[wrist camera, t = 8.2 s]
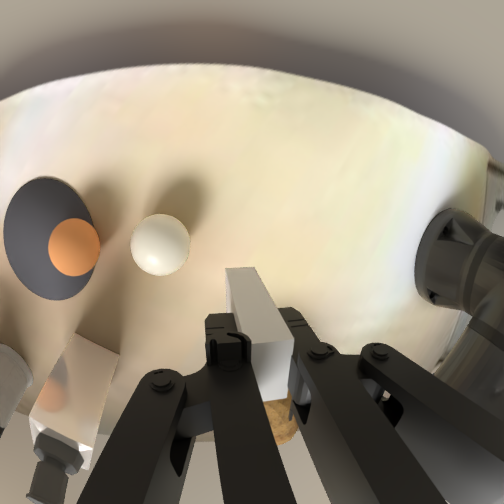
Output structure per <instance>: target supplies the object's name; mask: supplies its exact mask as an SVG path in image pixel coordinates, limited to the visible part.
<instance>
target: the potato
mask: <svg viewBox="0 0 504 504" xmlns="http://www.w3.org/2000/svg"><path fill="white" fill-rule="evenodd" d="M291 399H292V396H291V393H290V391H289V389H288V392H287V398H284V399H277V400H271V401H263V403H264V407H265V410H266V413H267V416H268V419H269V423H270V426H271V429H272V432H273V435H274V438H275V441H276V444H277V445H280V444H284V443H286V442H287V441H289V440H291V439H292V437H293V436H294V434H295V433H296V431H297V429H298V424H297V422H296V419H295V417H294V414H293V417H292V421H289V417H288V416H289V410H290V404H291Z"/></svg>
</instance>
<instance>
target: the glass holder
mask: <svg viewBox="0 0 504 504" xmlns="http://www.w3.org/2000/svg"><path fill="white" fill-rule="evenodd" d="M32 383H33V375H32V372H31V370H30V368H29V367H28V365H27V364H26V362H25V361H24V360H23V358H22V357H21V356H20V355H19V354H18V353H17V352H16V351H14V350H13V349H12V348H10V347H9V346H7V345H5V344H0V438H1V435H2V433H3V431H4V429H5V428H6V427H7V425H8V423H9V421H10V419H11V417H12V415H13V413H14V411H15V409H16V407H17V405H18V403H19V401H20V399H21V398H22V396H23V394H24V392H25V390H26V389H27V387H29V386H31V385H32Z"/></svg>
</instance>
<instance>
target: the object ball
mask: <svg viewBox="0 0 504 504" xmlns="http://www.w3.org/2000/svg"><path fill="white" fill-rule="evenodd" d="M48 251H49V256H50V259H51V261H52V263H53V265H54V266H55V267H56V268H57V269H58V270H59V271H60V272H61V273H63V274H65V275H69V276H79V275H83V274H85V273H87V272H88V271H90V270H91V269H92V268H93V266H94V265H95V264H96V262H97V260H98V257H99V253H100V241H99V237H98V234H97V232H96V231H95V229H94V228H93V227H92V226H91V225H90V224H89V223H88V222H86V221H84V220H82V219H77V218H72V219H67V220H65V221H63V222H61V223H60V224H58V225H57V226H56V227H55V229H54V230H53V232H52V234H51V236H50V239H49V244H48Z"/></svg>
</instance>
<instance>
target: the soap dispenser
mask: <svg viewBox="0 0 504 504" xmlns="http://www.w3.org/2000/svg"><path fill="white" fill-rule="evenodd" d="M119 356H120V355H119V354H117V353H114V352H112V351H110V350H108V349H106V348H104V347H102V346H99V345H97V344H95V343H93V342H91V341H89V340H87V339H85V338H84V337H82V336H80V335H78V334H76V333H74V334H73V336H72V338H71V339H70V341H69V342H68V344H67V346H66V347H65V349H64V351H63V352H62V354H61V356H60V358H59V359H58V361H57V363H56V364H55V366H54V368H53V370H52V372H51V373H50V375H49V377H48V379H47V381H46V383H45V385H44V386H43V388H42V390H41V392H40V394H39V396H38V398H37V400H36V402H35V404H34V406H33V408H32V411H31V413H30V415H29V421H30V427H31V433H32V438H33V444H34V452H35V454H36V455H37V456H38V457H39V459H40V460H41V461H40V462H38V463H37V466H36V469H35V473H34V477H33V481H32V484H31V488H30V492H29V493H28V494H26V497H27V498H28V499H29V500H30V501H32V502H33V503H35V504H64V499H65V493H66V488H67V483H68V476H67V475H66V474H65V473H68V474H70V475H74V474H76V473H78V471H79V469H80V468H84V469H86V470H89V466H90V461H91V457H92V452H93V448H94V443H95V438H96V435H97V431H98V427H99V423H100V419H101V415H102V412H103V408H104V404H105V401H106V397H107V394H108V391H109V387H110V384H111V381H112V378H113V374H114V371H115V368H116V365H117V362H118V359H119Z"/></svg>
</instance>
